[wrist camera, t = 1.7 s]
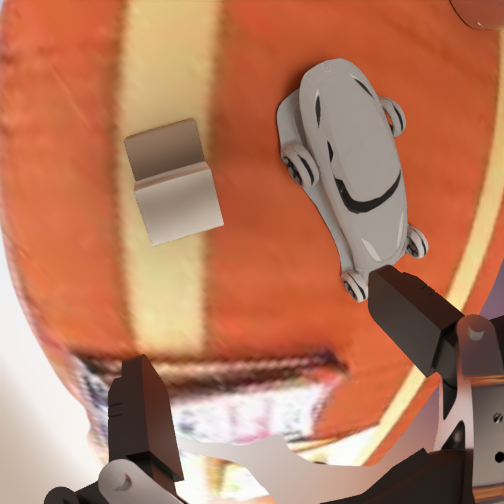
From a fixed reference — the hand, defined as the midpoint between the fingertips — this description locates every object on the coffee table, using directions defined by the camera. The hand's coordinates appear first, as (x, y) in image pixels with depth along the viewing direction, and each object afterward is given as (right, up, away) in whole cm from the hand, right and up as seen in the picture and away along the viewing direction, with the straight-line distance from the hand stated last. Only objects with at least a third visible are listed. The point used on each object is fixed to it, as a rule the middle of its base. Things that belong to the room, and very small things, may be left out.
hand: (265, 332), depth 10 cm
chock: (-7, +9, +13) cm, 17 cm away
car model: (+9, +9, +19) cm, 23 cm away
